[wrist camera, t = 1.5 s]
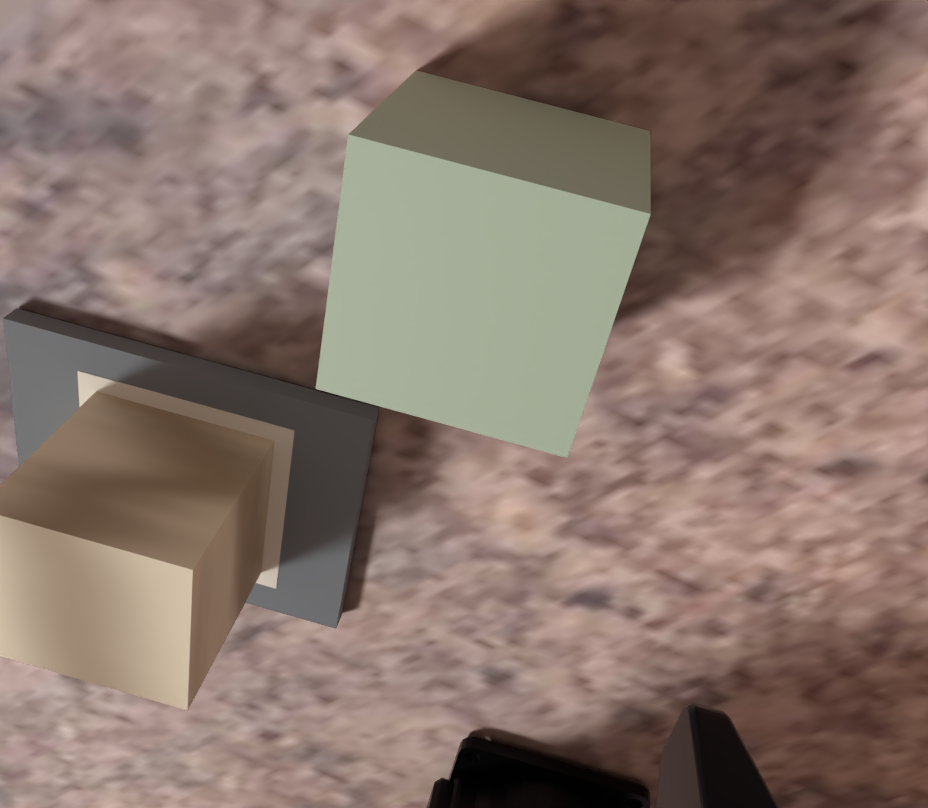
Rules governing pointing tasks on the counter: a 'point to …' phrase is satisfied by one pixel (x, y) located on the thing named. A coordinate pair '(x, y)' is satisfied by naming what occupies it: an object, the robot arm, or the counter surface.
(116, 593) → the maple block
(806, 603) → the counter surface
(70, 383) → the grey base plate
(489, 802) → the robot arm
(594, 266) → the green block
